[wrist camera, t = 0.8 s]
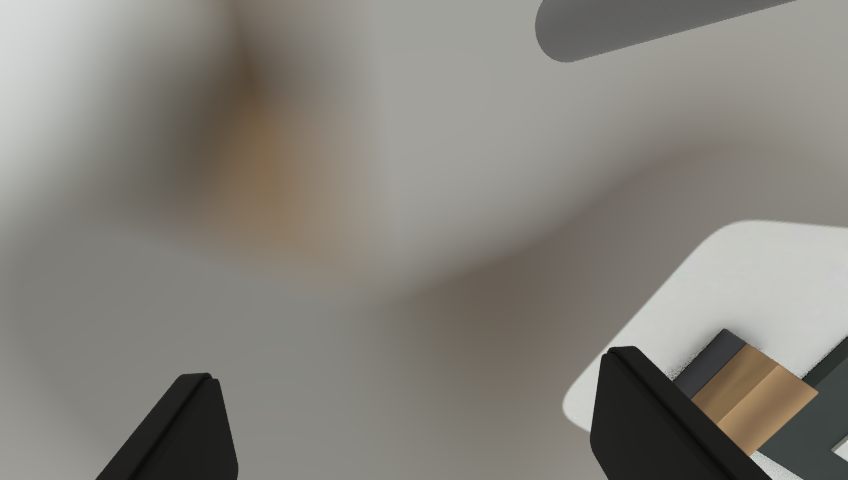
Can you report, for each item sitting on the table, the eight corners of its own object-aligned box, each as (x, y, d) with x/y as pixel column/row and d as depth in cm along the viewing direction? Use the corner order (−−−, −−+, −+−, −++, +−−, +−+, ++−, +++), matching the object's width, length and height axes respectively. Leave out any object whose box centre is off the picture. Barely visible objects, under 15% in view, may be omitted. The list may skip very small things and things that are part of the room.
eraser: (661, 393, 31) (703, 437, 27) (724, 328, 30) (779, 363, 26) (697, 416, 33) (744, 461, 28) (760, 354, 31) (819, 392, 27)
